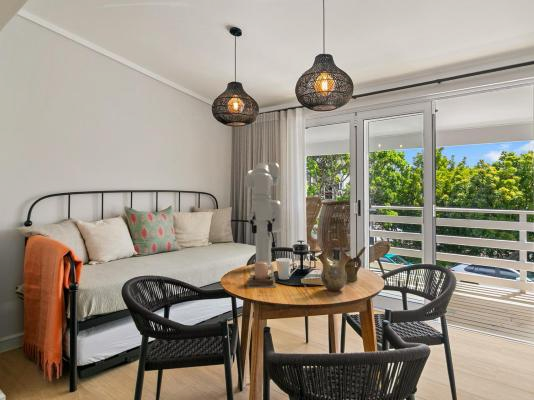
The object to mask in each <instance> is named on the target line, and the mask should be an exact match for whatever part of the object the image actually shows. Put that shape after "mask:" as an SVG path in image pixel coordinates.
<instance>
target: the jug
mask: <svg viewBox="0 0 534 400" xmlns="http://www.w3.org/2000/svg"><path fill="white" fill-rule="evenodd" d="M254 265H255V268H254V275H255V280H268V277H275V275H274V274H275V273H274V264H272V265H269V266H268V262H256V261H254ZM268 268H271V269H270V272H271V273H269V269H268Z"/></svg>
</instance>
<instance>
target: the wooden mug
mask: <svg viewBox="0 0 534 400" xmlns="http://www.w3.org/2000/svg"><path fill="white" fill-rule="evenodd" d="M365 251H366V246H363V247H362V248H361V249H360V250H359V252H358V253H357V255H356V256H355V257H353V258H352V257H351V258H350V259H349V260H348V261H347V262H346V264H345V271H346V275H347V280H346V283H348V282H349V283H352V282H353V283H354V282H357V281H358V272H359V270H360V268H361V267H362V260H361V258H360V257H361V256H362V254H364V252H365ZM356 264H357V266H356Z"/></svg>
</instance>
